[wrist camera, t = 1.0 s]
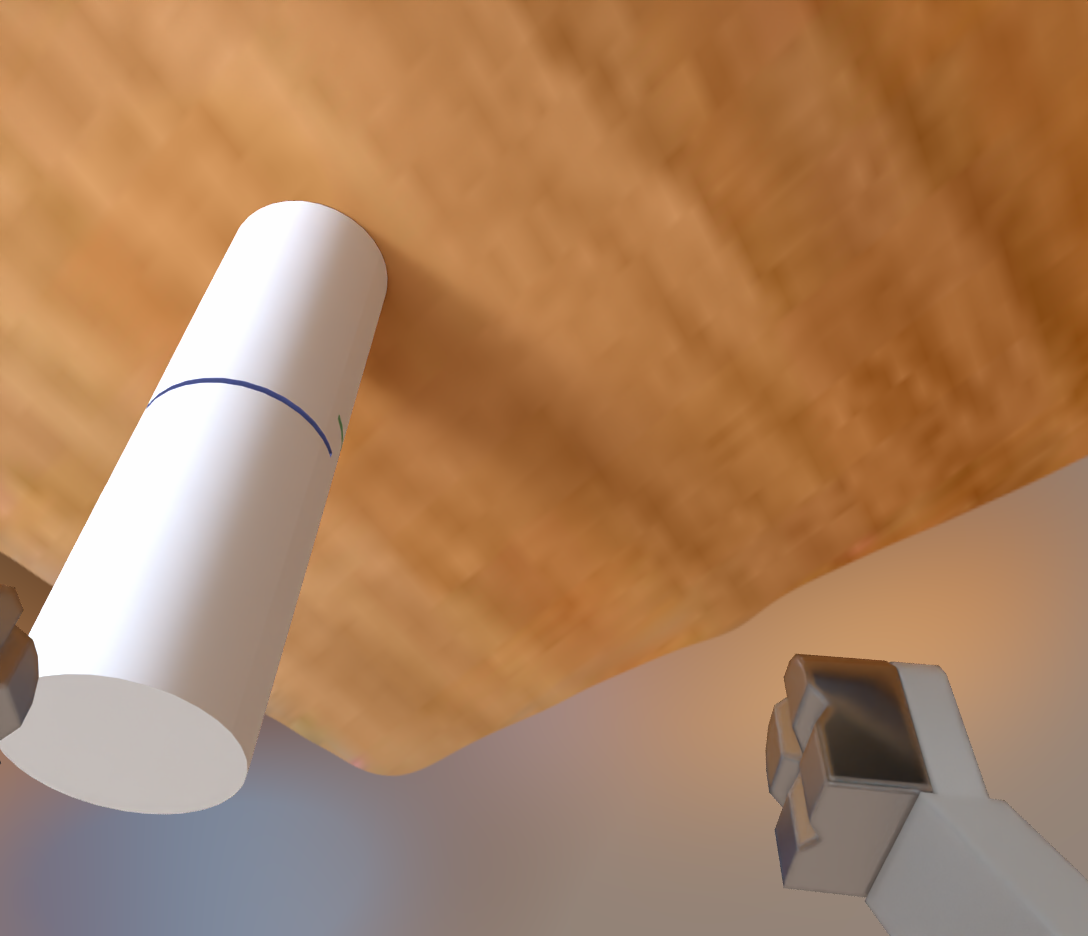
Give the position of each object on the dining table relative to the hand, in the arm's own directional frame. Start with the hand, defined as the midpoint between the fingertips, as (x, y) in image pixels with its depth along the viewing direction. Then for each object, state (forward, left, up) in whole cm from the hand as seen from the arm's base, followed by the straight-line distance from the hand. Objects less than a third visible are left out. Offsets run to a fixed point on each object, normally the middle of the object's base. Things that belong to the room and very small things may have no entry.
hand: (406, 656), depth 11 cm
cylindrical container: (+11, -17, -34) cm, 40 cm away
